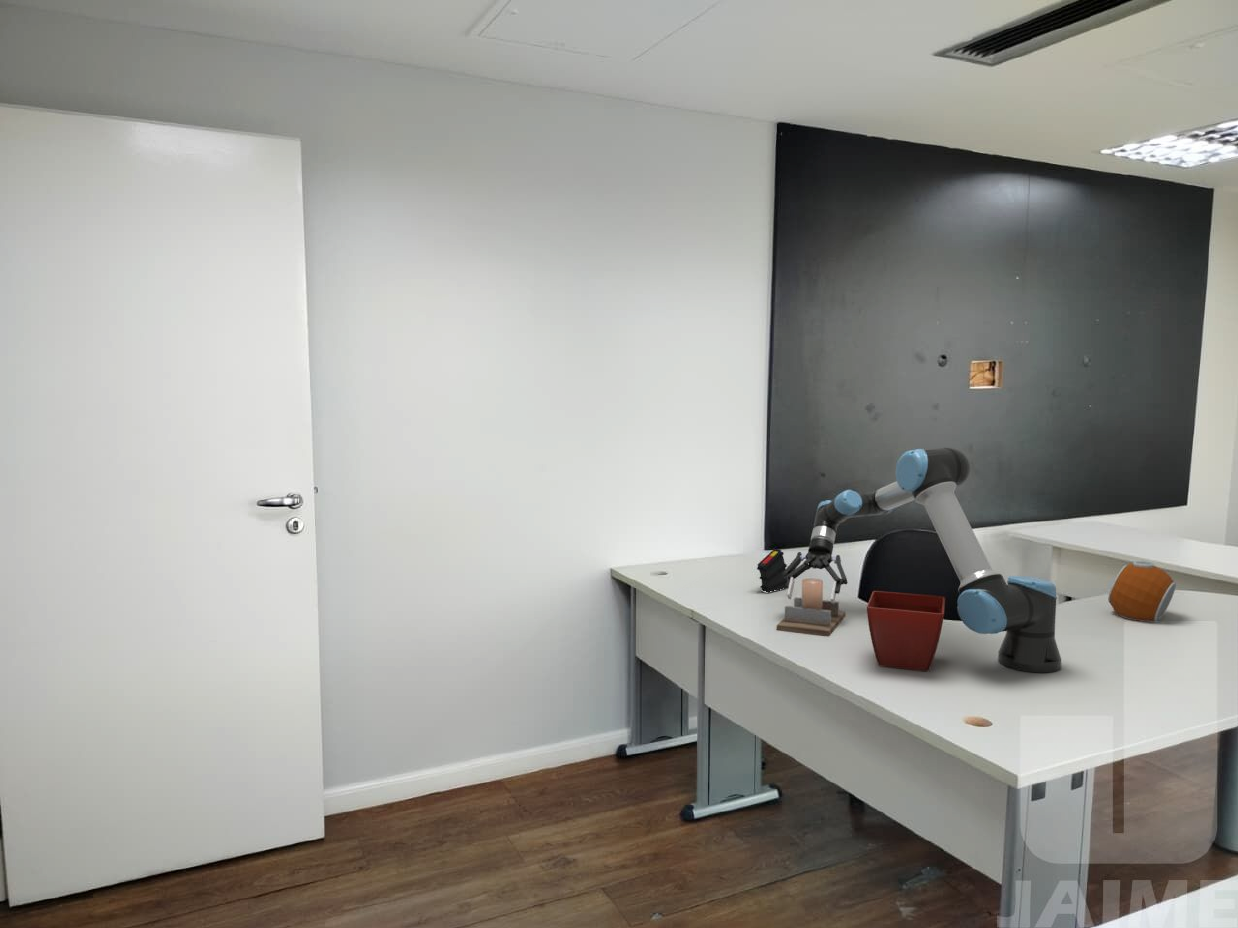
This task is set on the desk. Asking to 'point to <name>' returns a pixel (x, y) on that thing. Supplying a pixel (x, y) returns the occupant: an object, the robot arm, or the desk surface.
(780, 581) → the magazine
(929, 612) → the plant pot
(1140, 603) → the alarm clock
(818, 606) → the peach pillar candle
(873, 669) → the desk surface
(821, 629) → the rack
